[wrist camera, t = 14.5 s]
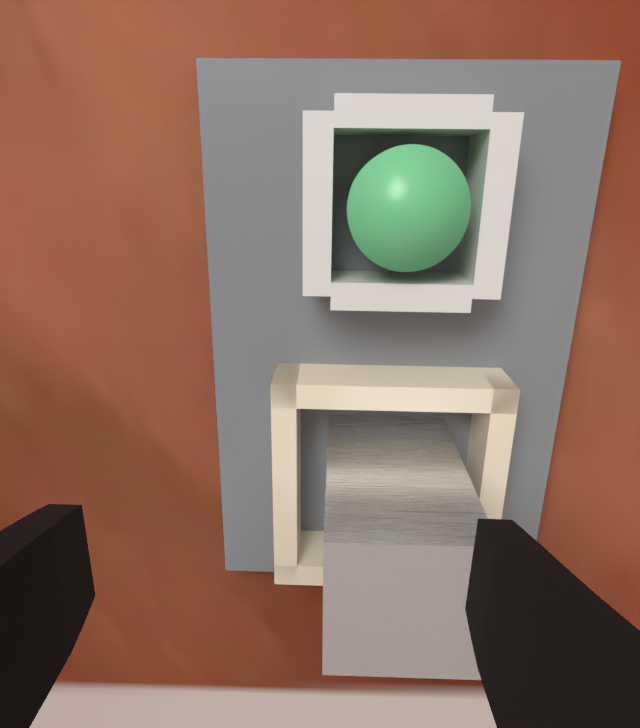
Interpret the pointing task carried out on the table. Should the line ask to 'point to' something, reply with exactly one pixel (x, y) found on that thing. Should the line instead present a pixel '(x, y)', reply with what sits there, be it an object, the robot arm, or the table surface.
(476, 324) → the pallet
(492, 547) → the robot arm
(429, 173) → the button
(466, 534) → the block
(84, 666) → the table surface
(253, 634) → the table surface
